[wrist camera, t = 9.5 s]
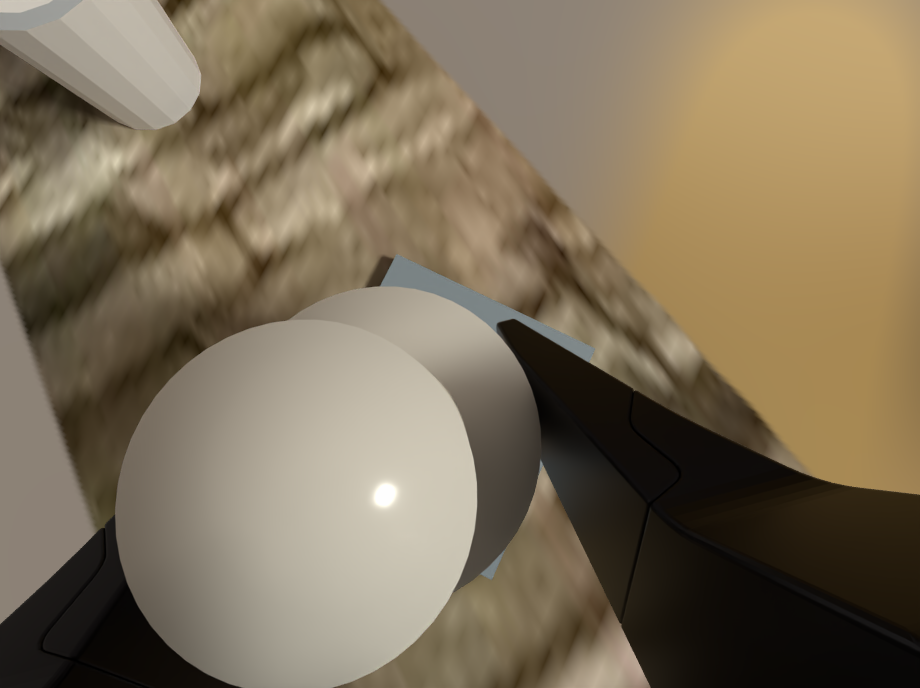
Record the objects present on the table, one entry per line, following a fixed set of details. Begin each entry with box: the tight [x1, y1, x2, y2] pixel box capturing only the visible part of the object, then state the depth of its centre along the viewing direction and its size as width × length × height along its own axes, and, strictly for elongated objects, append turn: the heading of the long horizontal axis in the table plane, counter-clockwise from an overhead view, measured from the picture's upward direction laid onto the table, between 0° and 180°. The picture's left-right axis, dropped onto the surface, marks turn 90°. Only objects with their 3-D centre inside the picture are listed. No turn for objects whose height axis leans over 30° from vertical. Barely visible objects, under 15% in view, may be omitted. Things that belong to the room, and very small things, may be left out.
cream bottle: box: [115, 286, 541, 688], centre depth 9 cm, size 5×5×12 cm
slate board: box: [380, 255, 595, 580], centre depth 20 cm, size 12×11×1 cm
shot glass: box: [0, 0, 201, 130], centre depth 19 cm, size 7×7×7 cm
